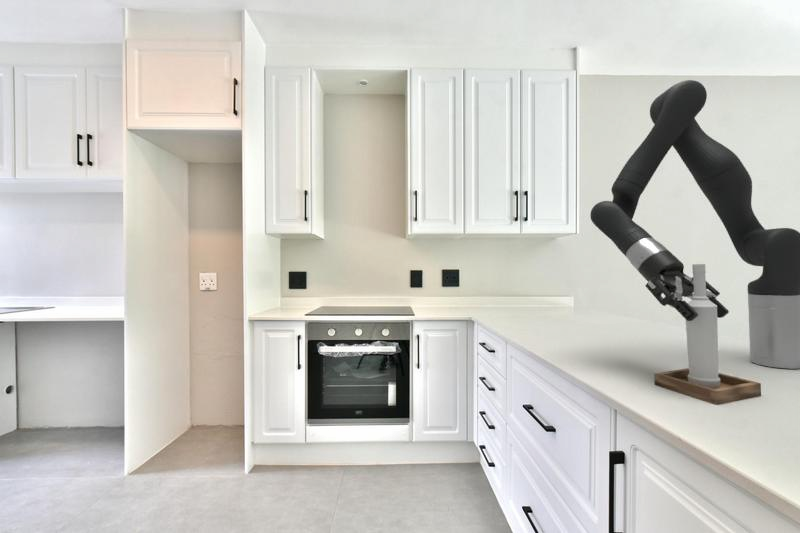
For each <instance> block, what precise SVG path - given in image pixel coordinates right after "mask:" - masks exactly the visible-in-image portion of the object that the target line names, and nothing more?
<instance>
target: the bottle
mask: <svg viewBox="0 0 800 533" xmlns="http://www.w3.org/2000/svg"><path fill="white" fill-rule="evenodd" d="M691 266H692V277H693V284H694V292H693V293H694V296H693V297H692V299H690V300H689V301H688V302H687V303H688V304H689V305H690V306H691V307H692V308H693V309H694V310H695V311H696V312H697V314H698V316H697V317H696V318H695V319H694V320H692V321H687V320H686V319H685V330H686V344H687V345H686V346H687V358H688V368H689V374H688V381H689V382H691V383H694V384H698V385H701V386H705V387H708V388H712V389H718V388H719V387H720V378H719V377H718V373H719V343H718V342H719V341H718V340H719V336H718V328H719V327H718V317H717V305H715V304H714V303H713V302H711V301H710V300H709V297H707V296H706V281H707V280H706V272H707V271H706V264H705V263H694V264H692V265H691Z"/></svg>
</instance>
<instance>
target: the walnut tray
mask: <svg viewBox="0 0 800 533" xmlns="http://www.w3.org/2000/svg"><path fill="white" fill-rule="evenodd" d="M688 374H689V367H688V368H681V369H676V370H675V369H674V370H669V371H662V372H656V373H654V385H655V386H658V387H661V388H664V389H666V390H669V391H673V392H677V393H679V394H682V395H685V396H689V397H692V398H694V399H699V400H701V401H705V402H707V403H710V404H714V405H720V404H725V403H731V402H736V401H741V400H745V399H751V398H756V397H760V396H762V386H761V385H762V384H761V383H760V382H758V381H757V382H756V381H753V380H750V379H749V380H748V379H745V378H741V377H736V376H732V375H729V374H725V373H721V372H718V377H719V378H720V387H719V388H718V389H712V388H708V387H705V386H701V385H698V384H694V383H691V382H689V381H688Z"/></svg>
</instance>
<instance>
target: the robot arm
mask: <svg viewBox="0 0 800 533" xmlns="http://www.w3.org/2000/svg"><path fill="white" fill-rule="evenodd" d="M707 95H708V94H707V90H706V88H705V86H704V85H703V83H702V82H700V81H697V80H694V79H693V80H692V79H687V80H682V81H680V82H678V83H674V84H673V85H672V86H671V87H669V88H668V89H666V90H664V92H662V93H661V94H659V95H658V96H657V97H656V98H655V99H654V100H653V101H652V102H651V104H650V107H649V116H650V119H651V121H652V123H653V124H654V125H653V126H652V128H651V129H650V131H649V133H648V134H647V135H646V138H645V139H644V140H643V141H642V142H641V144H640V145H639V146H638V147H637V149H636V150H635V151H633V154H632V155H630V157H629V158H628V160H627V161H626V162H625V164H624V165H623V167H622V169H621V171H620V172H619V173H618V176H617V178H616V179H615V181H614V182H613V184H612V186H611V189H610V190H611V193H612V200H603V201H602V200H601V201H600V202H598V203H596V204H595V205H594V206H593V207H592V208H591V211H590V219H591V223H592V224H593V225H594V226H595V227H597V228H598V230H599V231H600V232H601V233H603V234H604V235H605V236H606V237H607V238H609V239H610V240H611V241H612V242H613V244H614V245H615V246H616V248H617V249H618V250H619V251H620V252H621V253H622V254H623V256H625V257H626V259H627V260H628V261H629V263H630V264H631V265H632V267H633V268H635V269H636V271H637V272H639V274H640V275H641V276H642V277H643V278H644V279H645V280H646V281H647V283H645V287H646V288H647V290H648V291H649V292H650V293H651V294H652V295H653V296H654V298H655V299H656V301H658V302H659V304H660V305H662V306H664V307H666V306H669V307H670V308H674V309H675V310H676V311H677V312H678V313H679V314H680V315H681V316H682V318H684V319H685V321H686V320H687V321H692V320H694V319H695V318H696V317H697V316H698V314H697V312H696V311H695V310H694V309H693V308H692V307H691V306H690V305H689V304H688V302H687V301H686V300H684V299H683V298H688V299H690V300H692V297H693V296H694V284H693V276H692V277H691V276H689V275H687V274H686V273H684V268H685V266H684V263H683V262H682V261H680V259H678V258H677V256H675V255H674V254H673V253H672V252H671V251H670V250H669V249H668V248H667V247H665V245H663V244H662V243H661V242H659V241H658V240H657V239H655V238H654V237H653V236H652V235H651V234H649V232H648V231H647V230H645V229H644V228H643V227H642V226H640V225H639V224H637V223H636V222H635V221H633V218H634V215H635V214H636V210H637V208H638V205H639V200H640V197H641V195H642V194H643V192H644V191H645V189H646V188H647V187H648V184H649V182H650V181H651V180H652V177H653V176H654V174H655V172H656V171H657V169H658V168H659V166H660V164H661V163H662V161H663V160H664V158H665V157H666V155H668V153H669V151H670V150H671V148H672V147H673V148H674V150H675V151H676V153H677V154H678V156H679V157H680V159H681V161H682V162H683V164H685V166H686V168H687V169H688V171H689V173H690V174H691V176H692V177H693V180H694V181H695V182H696V184H697V185H698V187H699V189H700V190H701V192H702V193H703V195H704V196H705V197H706V199H707V200H708V201H709V203H710V205H711V207H712V208H713V211H715V213H716V214H717V216H718V218H719V219H720V221H721V223H722V224H723V226H724V228H725V231H726V232H727V234H728V237H729V239H730V240H731V242H732V245H733V247H734V250H735V251H736V253H737V254H738V256H739V257H740V259H742V261H743V262H745V263H746V264H748V265H750V266H753V267H754V266H755V267H762V273H761V275H760V276H759V277H757V279H754V280H752V281H750V282H748V284H747V305H748V328H749V331H748V335H749V360H750V362H751V363H753V364H757V365H760V366H765V367H771V368H779V369H791V370H793V369H795V370H797V369H800V231H798V230H796V229H795V228H794V229H793V228H790V227H778V228H768V229H766V228H765V227H764V226H763V225H762V224H761V223H760V221H759V219H758V218H757V216H756V214H755V212H754V210H753V207H752V206H753V205H752V197H753V181H752V177H751V175H750V173H749V171H748V170H747V168H746V167H745V165H744V164H743V162H742V161H741V159H740V158H739V157H738V155H737V154H736V153H734V151H732V150H731V149H729V148H728V147H727V146H726V145H723V144H722V143H721V142H719V141H717V140H715V139H714V138H712V137H711V136H709V135H708V134H707V133H706V132H705V131H704V130H703V128H701V126H700V124H699V123H698V122H697V120H696V117H697V116H698V115H699V113H701V111H702V109H703V108H704V106H705V104H706V102H707V98H708V96H707ZM662 294H664V297H663V296H662ZM720 294H721V293H720V291H719V290H717V289H716V288H715V287H714V286H712V285H711V284H710V283H709V282H708V281H707V280H706V296H707V297H709V300H710V301H711V302H713V303H714V304H715V305H717V319H718V318H720V319H721V318H724V317H725V316H726V315H728V314H729V310H728V309H727V308H726V307H725V306H724V305H723V304H722V303H721V302H720V301H719V300H718V299H717V297H718V296H720Z"/></svg>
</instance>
